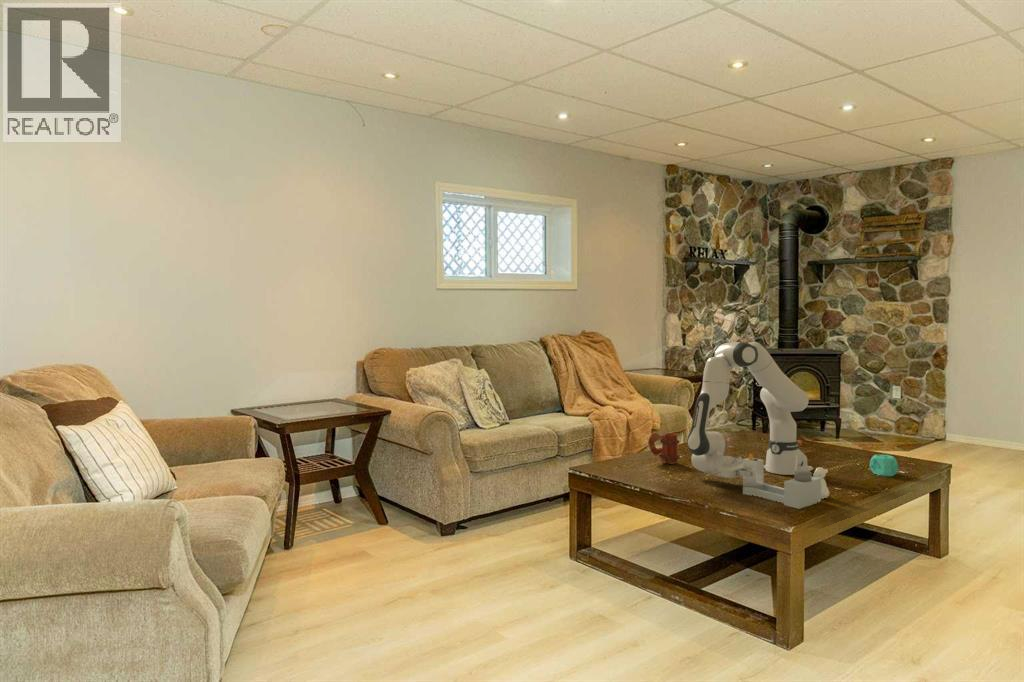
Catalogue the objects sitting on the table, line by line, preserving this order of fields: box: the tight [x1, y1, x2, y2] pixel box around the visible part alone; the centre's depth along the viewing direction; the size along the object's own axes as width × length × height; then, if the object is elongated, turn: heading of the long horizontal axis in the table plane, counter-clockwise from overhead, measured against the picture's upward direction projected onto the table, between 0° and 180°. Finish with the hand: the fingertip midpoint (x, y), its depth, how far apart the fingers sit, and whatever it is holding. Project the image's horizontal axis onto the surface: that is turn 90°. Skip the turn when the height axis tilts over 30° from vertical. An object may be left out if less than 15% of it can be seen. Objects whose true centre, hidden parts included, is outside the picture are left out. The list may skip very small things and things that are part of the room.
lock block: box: [742, 453, 765, 490], centre depth 274 cm, size 5×6×14 cm
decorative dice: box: [869, 454, 899, 477], centre depth 299 cm, size 8×8×8 cm
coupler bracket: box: [742, 470, 822, 510], centre depth 264 cm, size 15×25×12 cm, turn 36°
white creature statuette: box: [812, 466, 830, 500], centre depth 265 cm, size 10×9×12 cm
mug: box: [648, 431, 680, 465], centre depth 322 cm, size 15×8×15 cm, turn 84°
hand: (755, 473), depth 273 cm, fingers closed on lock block, 5 cm apart
